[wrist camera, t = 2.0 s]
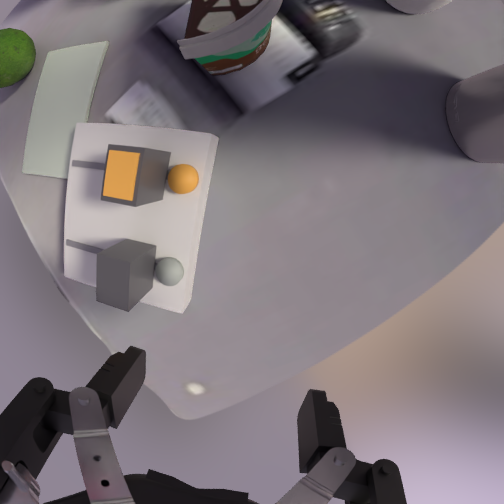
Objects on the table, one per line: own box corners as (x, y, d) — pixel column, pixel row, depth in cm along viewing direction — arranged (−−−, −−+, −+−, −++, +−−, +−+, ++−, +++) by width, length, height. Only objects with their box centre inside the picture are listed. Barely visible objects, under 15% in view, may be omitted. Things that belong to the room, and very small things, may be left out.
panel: (219, 138, 24) (209, 132, 21) (190, 300, 29) (179, 317, 25) (93, 125, 25) (71, 121, 21) (79, 268, 29) (60, 279, 25)
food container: (277, 92, 23) (278, 48, 13) (210, 89, 23) (175, 48, 14) (286, -8, 20) (287, -69, 10) (225, -9, 20) (205, -67, 10)
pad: (109, 42, 22) (107, 40, 22) (77, 179, 26) (75, 180, 26) (50, 52, 22) (48, 51, 22) (24, 172, 27) (22, 172, 26)
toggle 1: (171, 152, 22) (143, 147, 17) (162, 199, 23) (134, 207, 18) (139, 148, 22) (106, 143, 17) (131, 194, 23) (98, 200, 18)
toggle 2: (156, 245, 24) (130, 262, 19) (152, 287, 25) (128, 311, 20) (126, 238, 24) (96, 253, 19) (124, 279, 25) (96, 300, 20)
